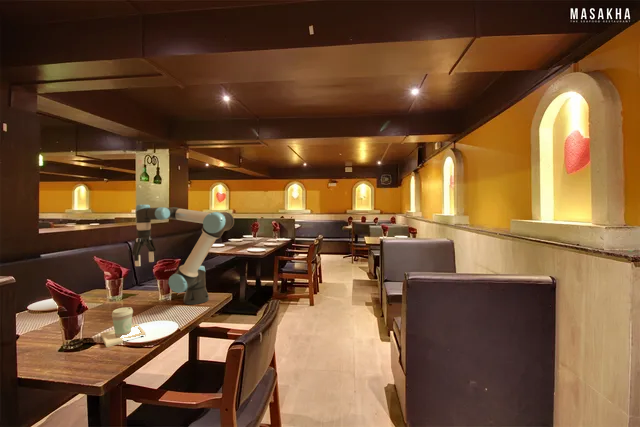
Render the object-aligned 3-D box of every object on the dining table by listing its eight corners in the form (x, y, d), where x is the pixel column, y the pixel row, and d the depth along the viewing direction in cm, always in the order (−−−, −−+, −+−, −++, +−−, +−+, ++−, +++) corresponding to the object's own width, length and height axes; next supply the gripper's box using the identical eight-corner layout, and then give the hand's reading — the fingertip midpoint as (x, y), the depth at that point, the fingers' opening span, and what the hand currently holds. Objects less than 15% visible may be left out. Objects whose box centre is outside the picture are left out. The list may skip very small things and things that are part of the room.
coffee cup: (122, 339, 130) (121, 313, 130) (107, 338, 132) (106, 312, 132) (138, 331, 139) (137, 307, 138) (123, 330, 140) (122, 306, 140)
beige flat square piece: (137, 327, 146) (137, 323, 146) (145, 336, 135) (145, 332, 135) (100, 337, 135) (100, 333, 135) (106, 347, 125) (106, 343, 125)
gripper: (149, 228, 189) (150, 260, 189) (123, 231, 164) (124, 268, 164) (161, 228, 189) (162, 260, 189) (136, 231, 164) (137, 267, 164)
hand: (144, 264), depth 177 cm, fingers open, 13 cm apart
